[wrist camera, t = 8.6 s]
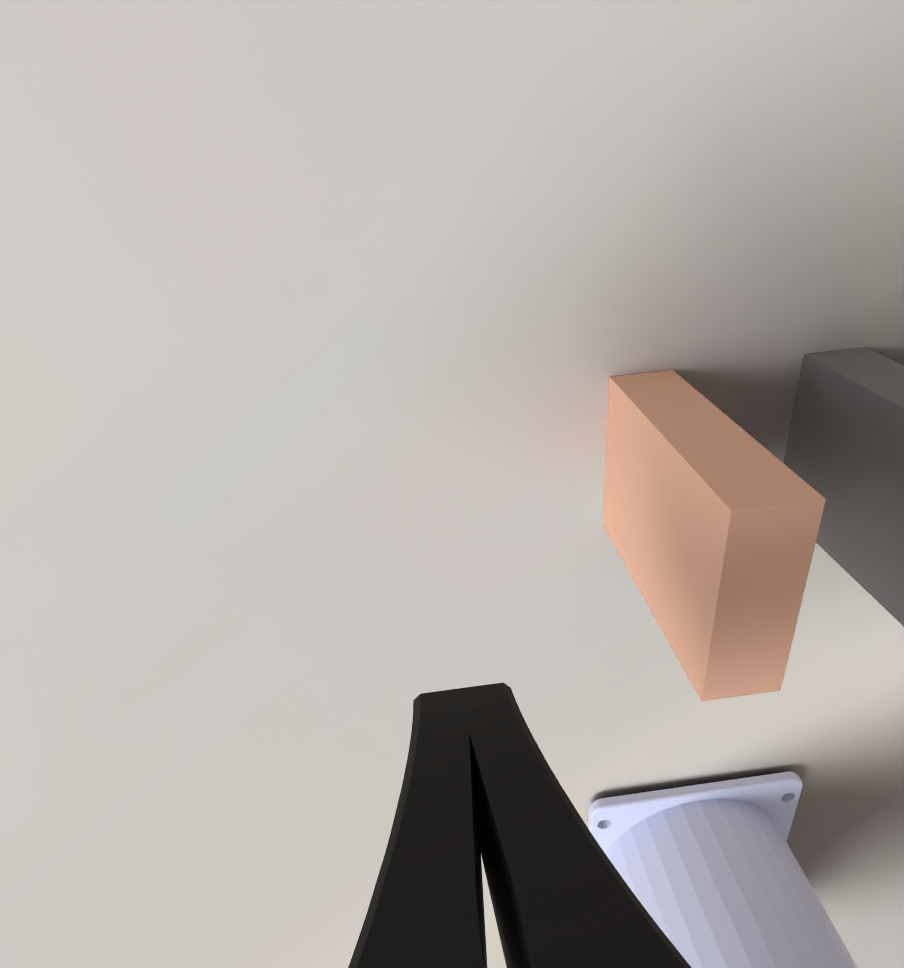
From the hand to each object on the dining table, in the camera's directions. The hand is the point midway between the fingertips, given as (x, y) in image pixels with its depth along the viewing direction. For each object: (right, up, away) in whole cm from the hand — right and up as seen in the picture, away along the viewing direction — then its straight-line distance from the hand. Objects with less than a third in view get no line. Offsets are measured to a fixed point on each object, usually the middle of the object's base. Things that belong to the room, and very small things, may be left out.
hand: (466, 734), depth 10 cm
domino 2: (+10, +5, +8) cm, 13 cm away
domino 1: (+5, +5, +8) cm, 10 cm away
